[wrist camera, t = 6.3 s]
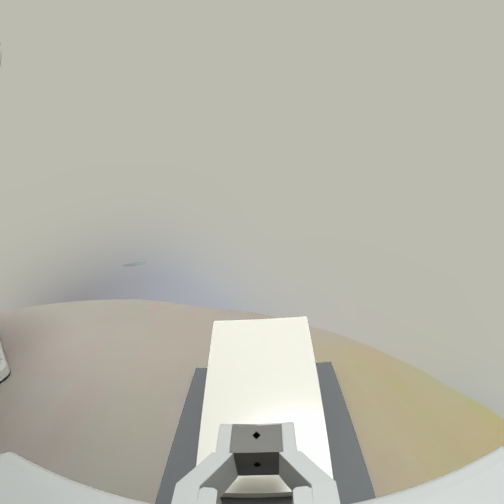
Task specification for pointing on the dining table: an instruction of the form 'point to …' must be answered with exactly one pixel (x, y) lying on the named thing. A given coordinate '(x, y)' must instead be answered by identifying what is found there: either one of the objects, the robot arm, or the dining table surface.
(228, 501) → the mat
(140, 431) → the dining table surface
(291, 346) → the tile
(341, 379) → the dining table surface
